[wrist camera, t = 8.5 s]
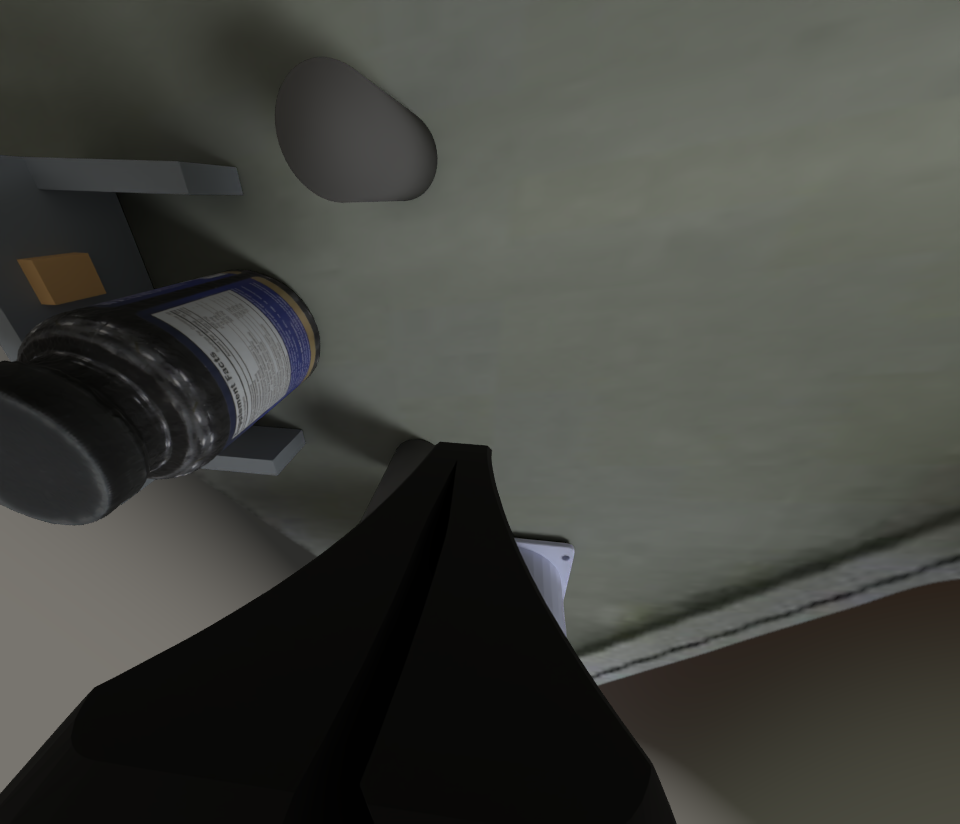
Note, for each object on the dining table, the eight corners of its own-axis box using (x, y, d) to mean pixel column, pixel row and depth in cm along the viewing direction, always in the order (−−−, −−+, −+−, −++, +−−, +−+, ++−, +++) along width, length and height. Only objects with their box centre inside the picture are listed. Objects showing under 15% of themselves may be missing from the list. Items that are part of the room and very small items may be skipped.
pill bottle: (218, 371, 21) (-41, 521, 11) (195, 254, 18) (-195, 324, 8) (327, 393, 21) (160, 562, 11) (323, 281, 18) (86, 381, 8)
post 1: (438, 202, 15) (394, 204, 10) (367, 199, 16) (289, 200, 10) (436, 109, 14) (383, 57, 9) (358, 108, 14) (261, 56, 9)
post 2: (444, 481, 23) (421, 564, 18) (397, 477, 23) (360, 558, 18) (443, 441, 21) (418, 519, 16) (392, 437, 22) (351, 513, 16)
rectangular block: (305, 443, 23) (240, 517, 17) (197, 434, 23) (102, 502, 18) (236, 167, 15) (92, 152, 10) (82, 162, 16) (-129, 146, 11)
